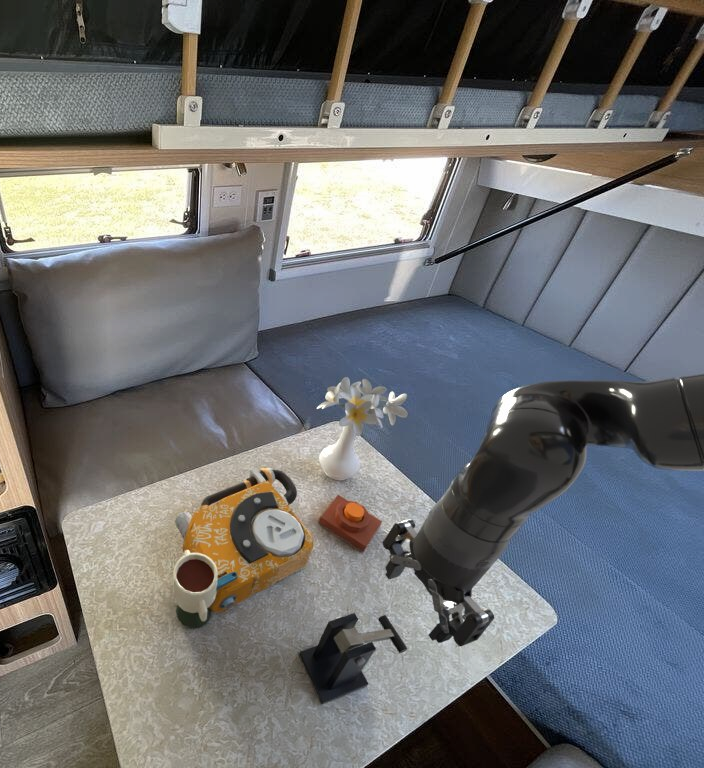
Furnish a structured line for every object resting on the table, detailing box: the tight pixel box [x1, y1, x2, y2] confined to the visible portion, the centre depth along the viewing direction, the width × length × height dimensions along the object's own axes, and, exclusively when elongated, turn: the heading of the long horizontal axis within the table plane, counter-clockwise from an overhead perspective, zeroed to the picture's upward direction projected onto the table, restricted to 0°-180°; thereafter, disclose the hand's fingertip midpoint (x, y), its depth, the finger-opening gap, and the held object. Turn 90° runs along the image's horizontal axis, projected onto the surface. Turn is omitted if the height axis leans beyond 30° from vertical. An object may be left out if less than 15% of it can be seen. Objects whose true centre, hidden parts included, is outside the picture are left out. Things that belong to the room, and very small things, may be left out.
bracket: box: [298, 612, 377, 705], centre depth 60 cm, size 8×7×13 cm
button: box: [344, 502, 364, 522], centre depth 83 cm, size 4×4×2 cm
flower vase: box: [316, 376, 409, 482], centre depth 91 cm, size 13×18×25 cm
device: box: [174, 466, 315, 613], centre depth 80 cm, size 23×8×30 cm
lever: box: [333, 614, 409, 654], centre depth 60 cm, size 12×5×2 cm, turn 107°
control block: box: [318, 494, 383, 553], centre depth 84 cm, size 10×8×4 cm
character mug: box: [172, 550, 218, 629], centre depth 67 cm, size 11×7×13 cm, turn 16°
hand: (412, 604), depth 56 cm, fingers open, 8 cm apart
